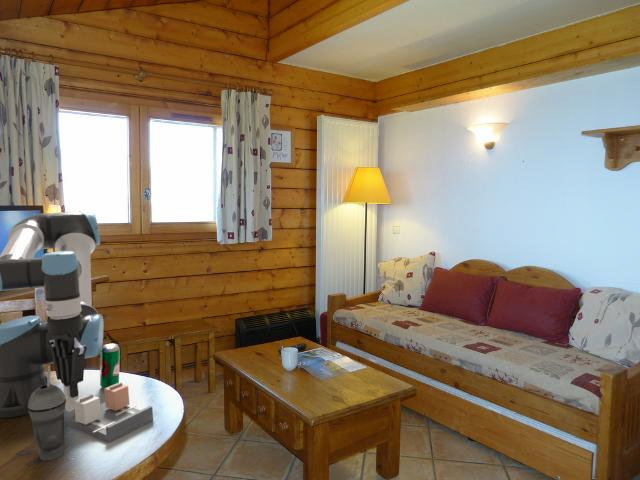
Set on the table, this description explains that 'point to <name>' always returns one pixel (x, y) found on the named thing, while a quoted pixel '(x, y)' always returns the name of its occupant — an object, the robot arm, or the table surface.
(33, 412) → the beverage cup
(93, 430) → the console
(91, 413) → the block
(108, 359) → the soda can
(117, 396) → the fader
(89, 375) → the table surface
